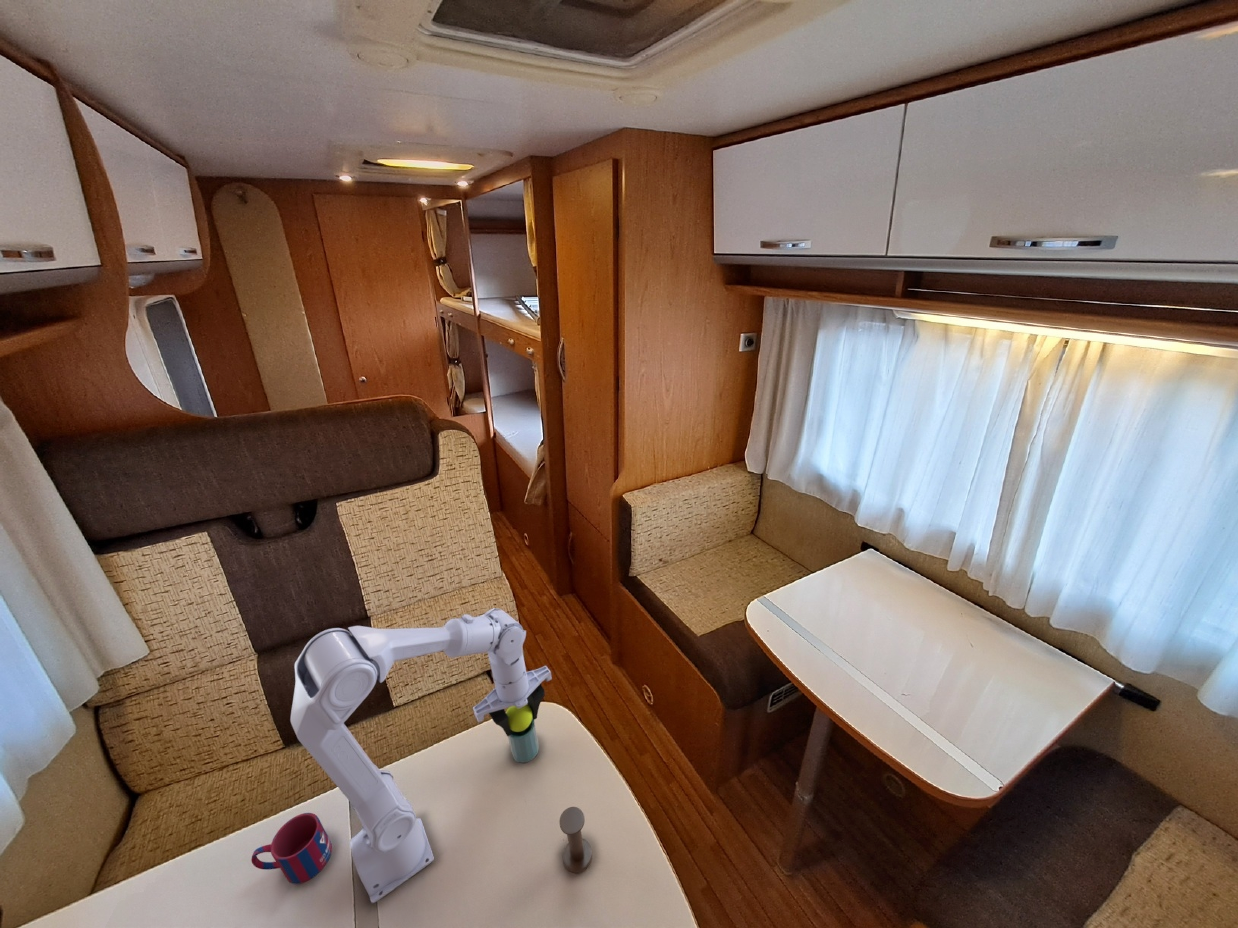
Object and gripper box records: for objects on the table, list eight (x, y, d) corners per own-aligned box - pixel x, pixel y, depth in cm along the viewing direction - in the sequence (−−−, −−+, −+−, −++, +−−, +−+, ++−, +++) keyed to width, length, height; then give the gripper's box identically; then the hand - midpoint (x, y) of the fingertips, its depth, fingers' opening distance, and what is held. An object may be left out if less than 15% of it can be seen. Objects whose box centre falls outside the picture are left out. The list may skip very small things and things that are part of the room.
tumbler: (519, 768, 91) (513, 743, 88) (507, 747, 95) (502, 723, 92) (543, 751, 94) (539, 727, 91) (531, 732, 98) (526, 708, 95)
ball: (514, 743, 88) (510, 724, 86) (502, 723, 92) (498, 705, 90) (538, 727, 91) (535, 708, 89) (526, 709, 95) (523, 691, 93)
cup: (324, 877, 77) (310, 853, 74) (255, 894, 75) (238, 870, 72) (337, 832, 83) (325, 807, 80) (274, 846, 81) (259, 822, 78)
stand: (573, 880, 75) (566, 843, 70) (558, 853, 78) (551, 816, 74) (597, 859, 77) (592, 822, 73) (582, 833, 80) (576, 797, 76)
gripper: (478, 709, 79) (492, 763, 84) (556, 664, 86) (564, 716, 92) (463, 681, 84) (477, 733, 90) (537, 641, 92) (546, 692, 97)
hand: (520, 723), depth 91 cm, fingers closed on ball, 5 cm apart
